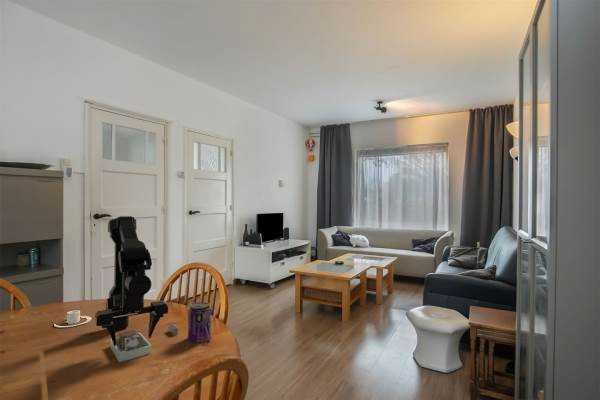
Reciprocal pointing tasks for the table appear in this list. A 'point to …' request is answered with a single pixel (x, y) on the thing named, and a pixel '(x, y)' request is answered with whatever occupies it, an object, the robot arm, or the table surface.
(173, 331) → the buffer stop
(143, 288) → the robot arm
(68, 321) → the candle holder
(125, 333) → the walnut block
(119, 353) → the shallow open crate
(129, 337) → the metal part
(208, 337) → the beverage can
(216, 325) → the table surface
